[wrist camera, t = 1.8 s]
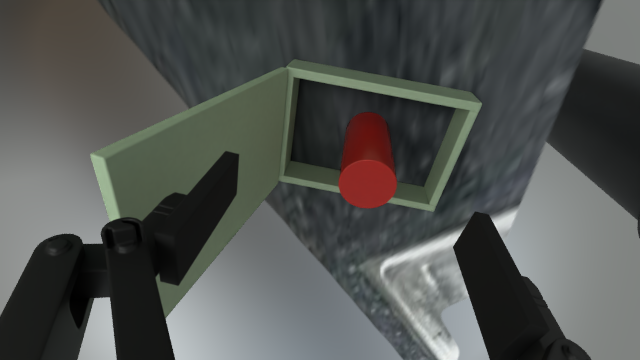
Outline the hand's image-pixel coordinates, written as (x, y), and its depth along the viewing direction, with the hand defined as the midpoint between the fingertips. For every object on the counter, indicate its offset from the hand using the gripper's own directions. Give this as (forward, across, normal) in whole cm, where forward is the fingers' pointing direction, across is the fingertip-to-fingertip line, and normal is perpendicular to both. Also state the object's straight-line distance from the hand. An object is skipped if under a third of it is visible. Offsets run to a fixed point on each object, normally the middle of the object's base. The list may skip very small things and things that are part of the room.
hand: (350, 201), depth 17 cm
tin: (+22, +2, -5) cm, 22 cm away
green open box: (+22, +2, -4) cm, 23 cm away
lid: (+7, -9, -5) cm, 12 cm away
